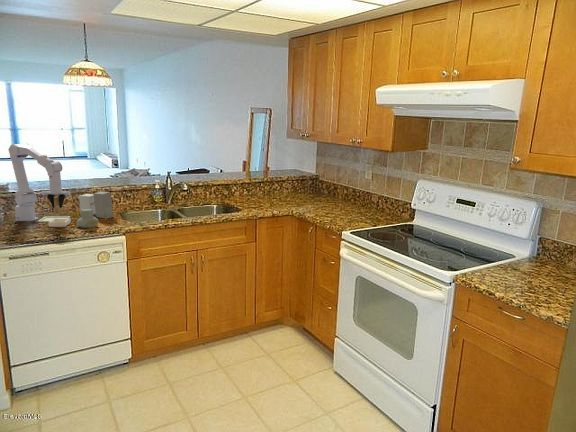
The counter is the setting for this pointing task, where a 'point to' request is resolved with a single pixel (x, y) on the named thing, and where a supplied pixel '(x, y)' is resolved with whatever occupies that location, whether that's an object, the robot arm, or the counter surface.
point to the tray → (49, 218)
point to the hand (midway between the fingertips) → (57, 207)
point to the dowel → (56, 205)
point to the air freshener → (87, 219)
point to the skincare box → (103, 204)
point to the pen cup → (59, 222)
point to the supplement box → (87, 202)
